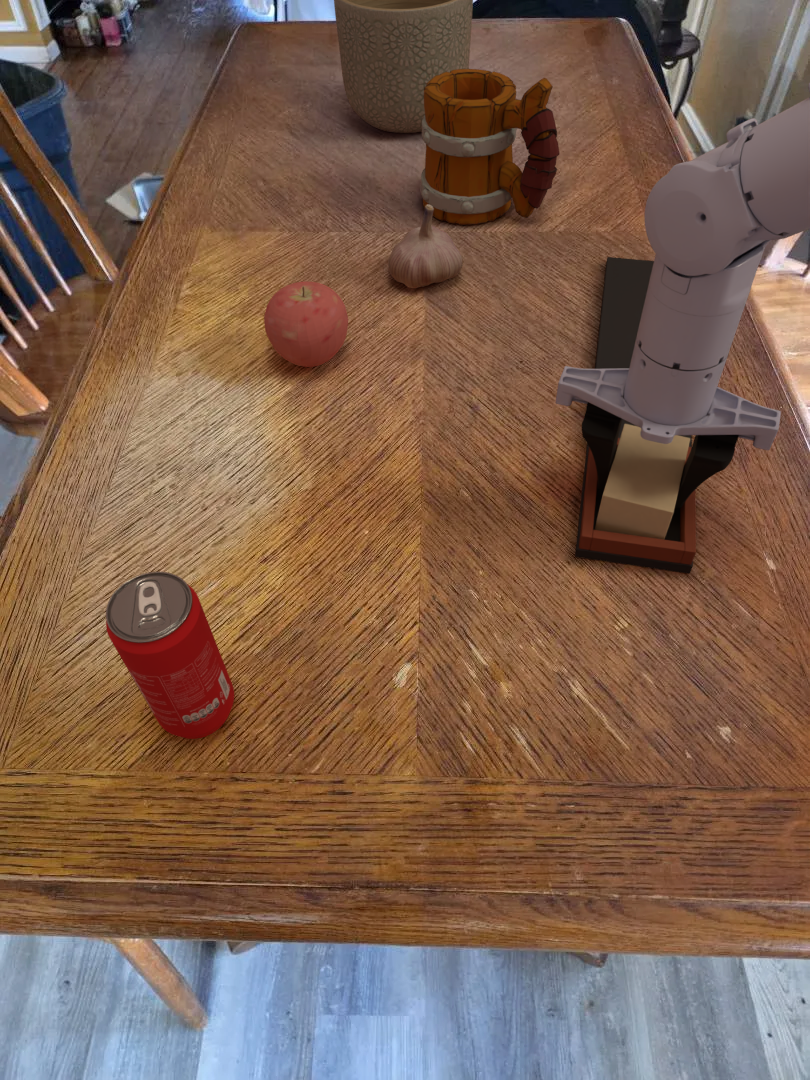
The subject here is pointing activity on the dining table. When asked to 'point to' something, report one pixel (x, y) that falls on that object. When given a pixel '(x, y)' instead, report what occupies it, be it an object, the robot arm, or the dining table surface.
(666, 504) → the foam pad
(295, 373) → the dining table surface
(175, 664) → the beverage can
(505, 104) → the mug
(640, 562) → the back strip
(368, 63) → the planter
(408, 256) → the garlic bulb
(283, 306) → the apple
